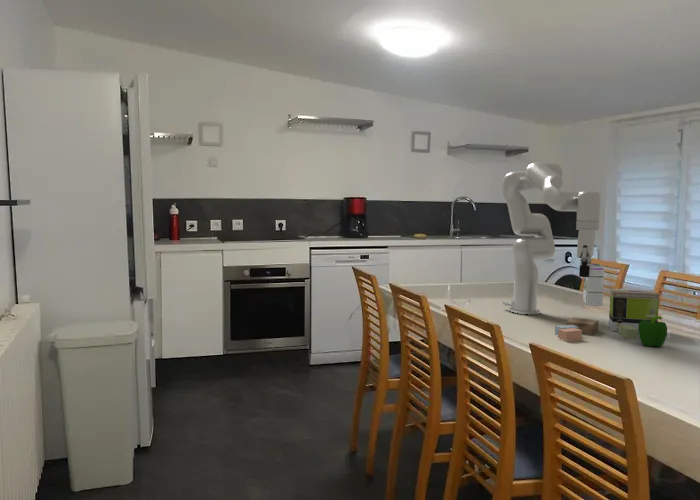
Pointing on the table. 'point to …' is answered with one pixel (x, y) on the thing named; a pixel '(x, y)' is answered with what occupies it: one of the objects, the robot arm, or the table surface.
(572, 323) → the walnut block
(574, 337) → the terracotta brick
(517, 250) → the robot arm
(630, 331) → the olive brick
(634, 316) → the tea box
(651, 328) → the bell pepper
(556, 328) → the slate brick
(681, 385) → the table surface
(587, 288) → the syrup box
